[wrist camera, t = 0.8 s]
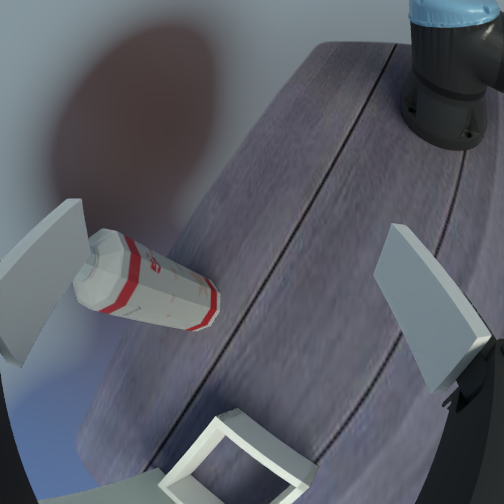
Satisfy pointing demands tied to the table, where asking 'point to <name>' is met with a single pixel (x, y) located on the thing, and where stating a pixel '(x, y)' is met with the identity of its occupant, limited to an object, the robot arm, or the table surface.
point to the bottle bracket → (180, 479)
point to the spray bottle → (144, 285)
